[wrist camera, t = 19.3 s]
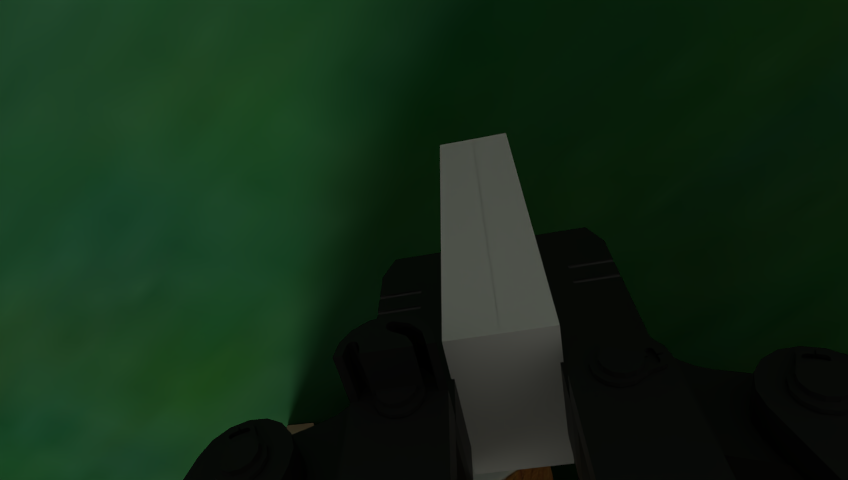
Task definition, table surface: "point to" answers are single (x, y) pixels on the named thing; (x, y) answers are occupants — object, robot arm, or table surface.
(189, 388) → the table surface
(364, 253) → the table surface
